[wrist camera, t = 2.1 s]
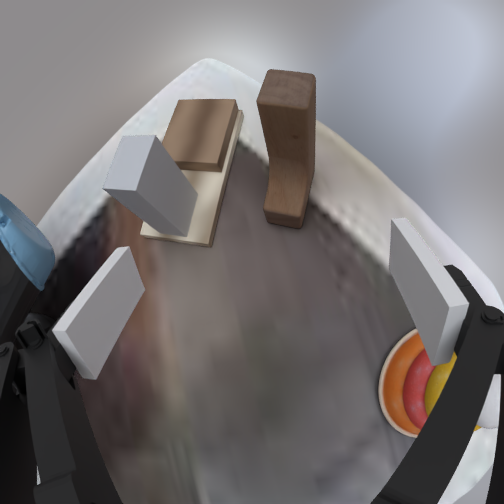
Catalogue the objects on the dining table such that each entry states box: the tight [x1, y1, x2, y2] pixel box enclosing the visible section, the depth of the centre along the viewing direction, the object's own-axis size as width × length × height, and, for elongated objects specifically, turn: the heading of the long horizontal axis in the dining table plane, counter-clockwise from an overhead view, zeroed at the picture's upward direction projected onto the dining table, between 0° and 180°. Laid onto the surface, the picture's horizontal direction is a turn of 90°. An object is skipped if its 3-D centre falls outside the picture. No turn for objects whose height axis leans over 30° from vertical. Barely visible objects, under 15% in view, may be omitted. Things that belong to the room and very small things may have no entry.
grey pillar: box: [102, 135, 198, 237], centre depth 35 cm, size 4×6×14 cm, turn 169°
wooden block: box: [256, 69, 316, 229], centre depth 33 cm, size 9×4×18 cm, turn 165°
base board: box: [140, 99, 244, 247], centre depth 43 cm, size 10×21×4 cm, turn 169°
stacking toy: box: [378, 328, 501, 438], centre depth 23 cm, size 14×14×20 cm
